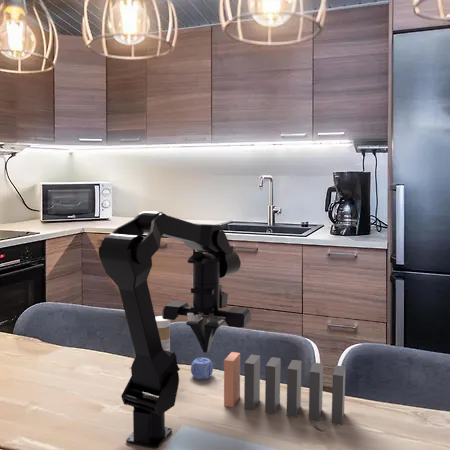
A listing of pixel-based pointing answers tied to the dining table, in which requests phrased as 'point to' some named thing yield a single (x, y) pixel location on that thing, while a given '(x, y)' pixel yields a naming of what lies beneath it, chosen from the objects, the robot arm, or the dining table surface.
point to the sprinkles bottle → (164, 332)
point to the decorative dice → (202, 368)
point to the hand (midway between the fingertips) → (206, 352)
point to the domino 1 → (231, 379)
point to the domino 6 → (338, 394)
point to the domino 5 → (315, 391)
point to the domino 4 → (294, 388)
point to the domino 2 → (252, 382)
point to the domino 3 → (272, 385)
